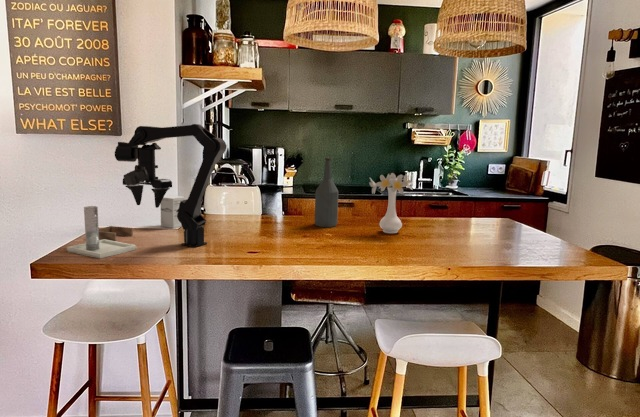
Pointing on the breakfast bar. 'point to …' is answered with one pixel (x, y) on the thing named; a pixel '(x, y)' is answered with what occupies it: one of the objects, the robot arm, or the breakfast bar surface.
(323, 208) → the bottle
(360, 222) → the breakfast bar surface
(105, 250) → the tray
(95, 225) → the pin
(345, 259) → the breakfast bar surface
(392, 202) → the flower vase
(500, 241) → the breakfast bar surface
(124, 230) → the brown u-shaped frame
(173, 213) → the supplement box
